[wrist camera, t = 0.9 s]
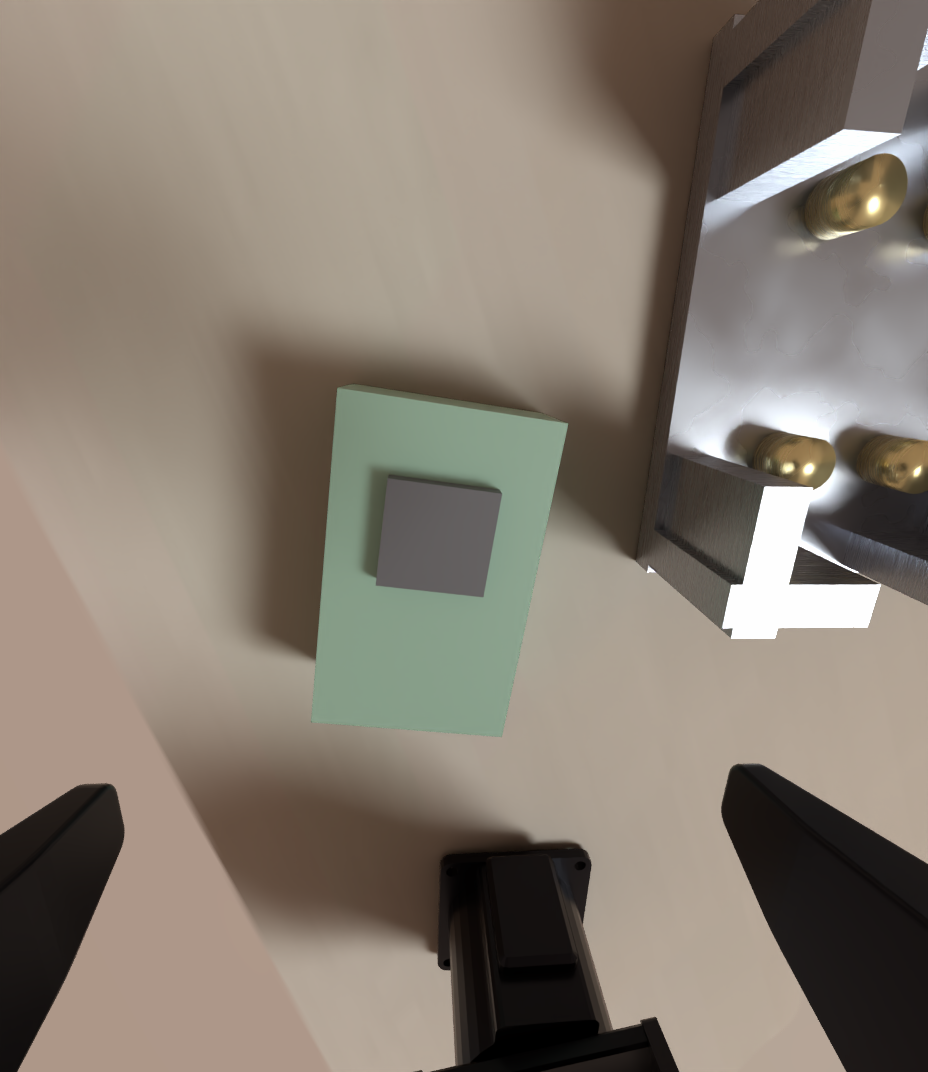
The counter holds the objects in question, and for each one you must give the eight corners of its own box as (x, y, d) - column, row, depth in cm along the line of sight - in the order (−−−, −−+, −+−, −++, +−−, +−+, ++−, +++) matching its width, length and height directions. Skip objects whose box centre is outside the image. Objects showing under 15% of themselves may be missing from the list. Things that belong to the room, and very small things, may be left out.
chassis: (917, 562, 20) (1099, 634, 14) (635, 561, 19) (720, 638, 13) (1080, 73, 15) (1438, -85, 10) (713, 38, 14) (890, -159, 9)
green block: (488, 675, 20) (504, 747, 16) (330, 660, 19) (307, 733, 15) (539, 412, 17) (573, 425, 13) (354, 383, 16) (334, 388, 12)
